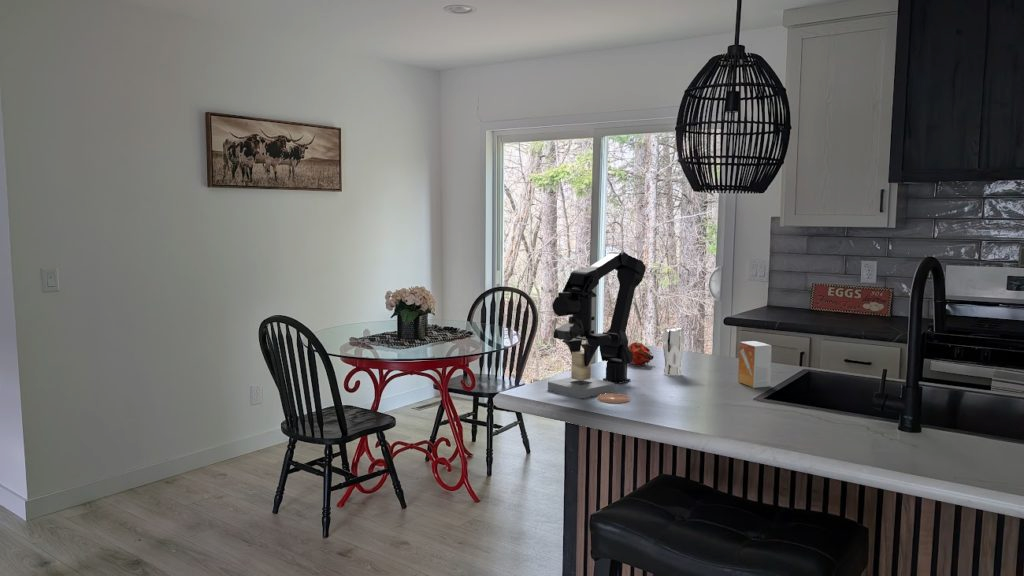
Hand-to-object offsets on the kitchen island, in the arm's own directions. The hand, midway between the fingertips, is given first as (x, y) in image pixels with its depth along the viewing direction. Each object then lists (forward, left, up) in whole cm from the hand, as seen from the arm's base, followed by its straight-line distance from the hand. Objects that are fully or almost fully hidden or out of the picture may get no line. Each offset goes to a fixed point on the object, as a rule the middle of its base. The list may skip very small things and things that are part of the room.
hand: (581, 365), depth 217 cm
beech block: (0, 0, -4) cm, 4 cm away
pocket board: (0, 0, -8) cm, 8 cm away
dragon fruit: (-43, -14, -8) cm, 46 cm away
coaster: (0, +13, -8) cm, 15 cm away
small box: (-48, +28, -8) cm, 56 cm away
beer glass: (-40, +3, -8) cm, 41 cm away
